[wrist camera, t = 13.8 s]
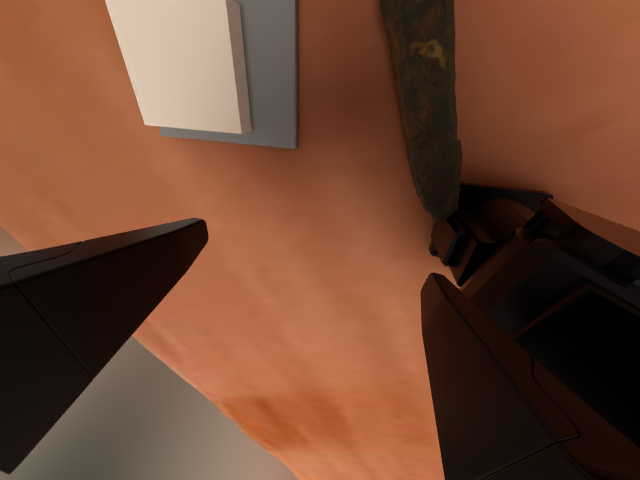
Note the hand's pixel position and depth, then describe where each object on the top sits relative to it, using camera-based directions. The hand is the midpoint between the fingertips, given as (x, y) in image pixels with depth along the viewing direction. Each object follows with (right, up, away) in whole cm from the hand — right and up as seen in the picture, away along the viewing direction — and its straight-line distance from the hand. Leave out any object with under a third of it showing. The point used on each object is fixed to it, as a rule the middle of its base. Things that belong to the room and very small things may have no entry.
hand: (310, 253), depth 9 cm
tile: (-5, +11, +6) cm, 14 cm away
